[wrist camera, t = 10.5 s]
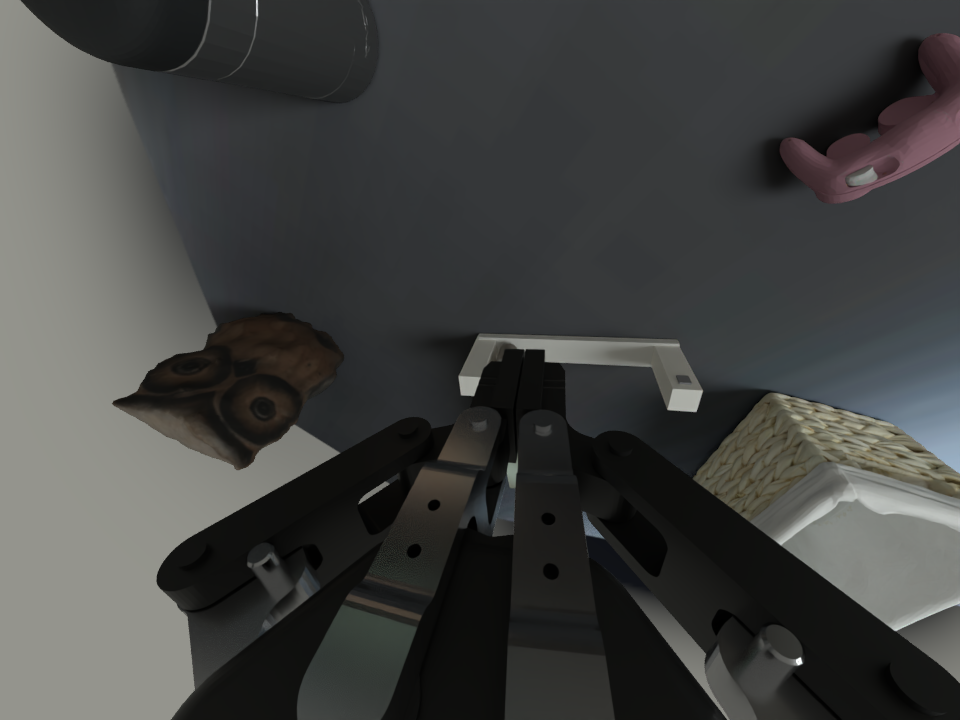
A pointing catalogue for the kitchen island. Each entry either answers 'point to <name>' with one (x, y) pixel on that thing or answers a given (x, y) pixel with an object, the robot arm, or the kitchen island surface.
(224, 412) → the owl
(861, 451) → the storage basket
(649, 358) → the gate posts
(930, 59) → the video game controller
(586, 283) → the kitchen island surface
